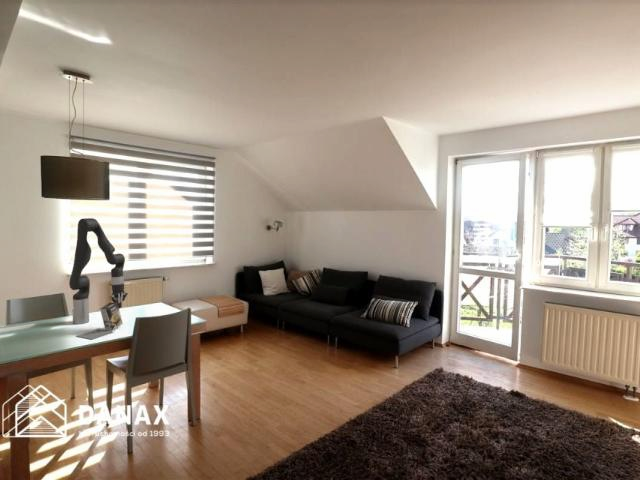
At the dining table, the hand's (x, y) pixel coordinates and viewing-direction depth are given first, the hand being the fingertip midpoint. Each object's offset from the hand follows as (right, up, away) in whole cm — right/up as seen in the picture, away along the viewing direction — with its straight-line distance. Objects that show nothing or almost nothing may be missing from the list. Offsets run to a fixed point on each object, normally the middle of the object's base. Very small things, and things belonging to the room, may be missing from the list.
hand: (119, 308), depth 242 cm
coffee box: (-2, -13, -2) cm, 13 cm away
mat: (-7, -14, -14) cm, 21 cm away
